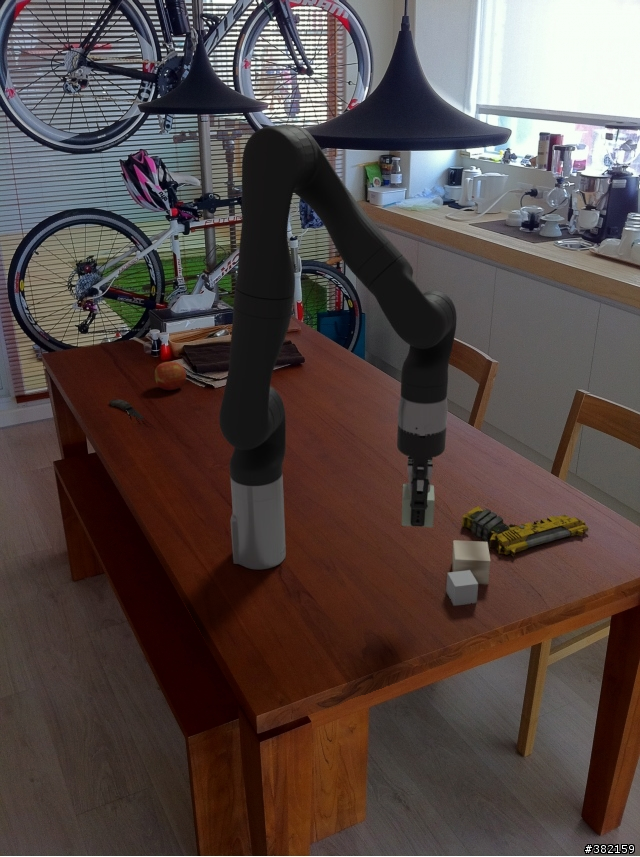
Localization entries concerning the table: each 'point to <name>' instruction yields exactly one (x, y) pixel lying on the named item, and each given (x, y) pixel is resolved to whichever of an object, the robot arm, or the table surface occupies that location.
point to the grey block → (462, 587)
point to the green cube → (407, 509)
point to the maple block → (472, 559)
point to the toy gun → (520, 530)
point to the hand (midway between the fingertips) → (417, 515)
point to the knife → (126, 407)
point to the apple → (170, 375)
